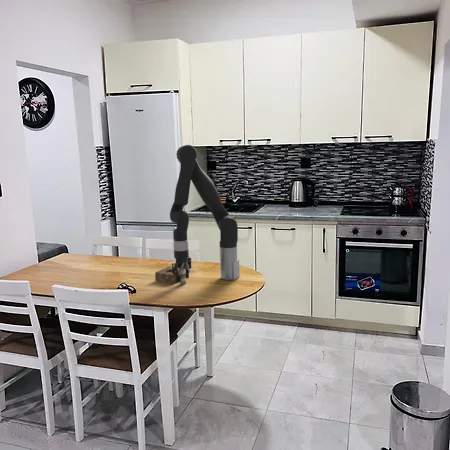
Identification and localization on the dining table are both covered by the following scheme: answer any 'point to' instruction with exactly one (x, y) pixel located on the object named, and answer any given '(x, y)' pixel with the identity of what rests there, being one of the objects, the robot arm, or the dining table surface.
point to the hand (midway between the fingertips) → (182, 279)
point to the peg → (183, 277)
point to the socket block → (166, 276)
